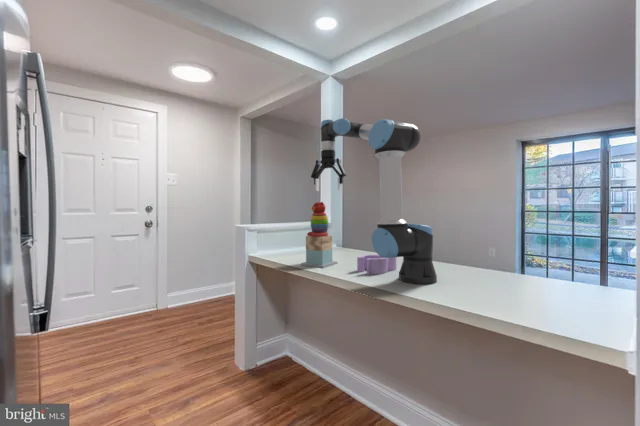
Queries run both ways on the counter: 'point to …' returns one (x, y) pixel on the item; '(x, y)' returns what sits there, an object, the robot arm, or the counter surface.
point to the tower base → (319, 258)
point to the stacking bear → (319, 221)
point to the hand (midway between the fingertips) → (328, 190)
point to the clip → (375, 264)
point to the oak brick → (319, 243)
